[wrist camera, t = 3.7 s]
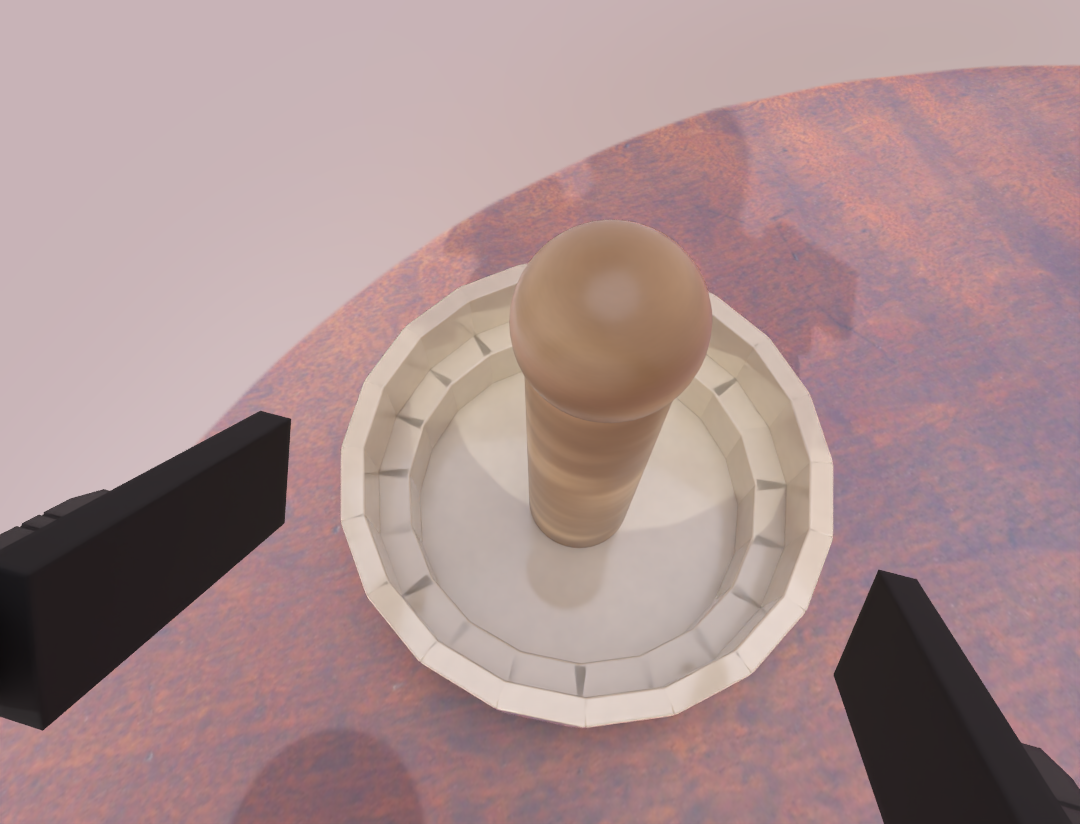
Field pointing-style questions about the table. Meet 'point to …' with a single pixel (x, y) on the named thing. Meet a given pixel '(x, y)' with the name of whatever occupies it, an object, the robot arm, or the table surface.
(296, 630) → the table surface
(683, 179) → the table surface
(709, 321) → the pestle
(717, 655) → the bowl
